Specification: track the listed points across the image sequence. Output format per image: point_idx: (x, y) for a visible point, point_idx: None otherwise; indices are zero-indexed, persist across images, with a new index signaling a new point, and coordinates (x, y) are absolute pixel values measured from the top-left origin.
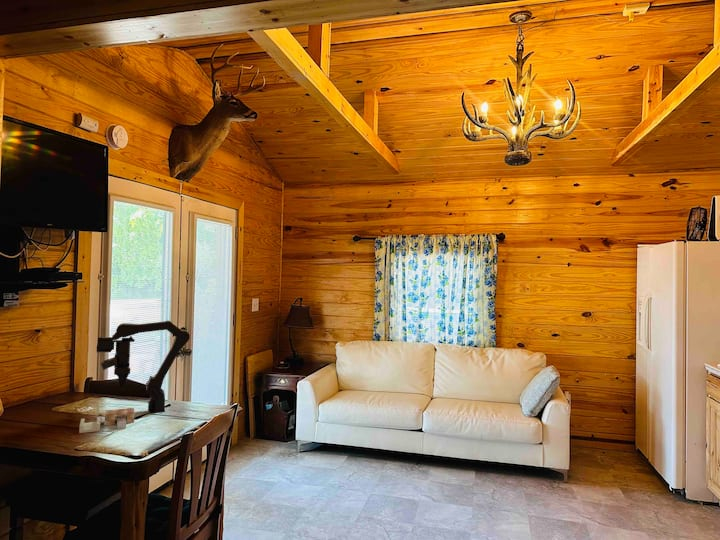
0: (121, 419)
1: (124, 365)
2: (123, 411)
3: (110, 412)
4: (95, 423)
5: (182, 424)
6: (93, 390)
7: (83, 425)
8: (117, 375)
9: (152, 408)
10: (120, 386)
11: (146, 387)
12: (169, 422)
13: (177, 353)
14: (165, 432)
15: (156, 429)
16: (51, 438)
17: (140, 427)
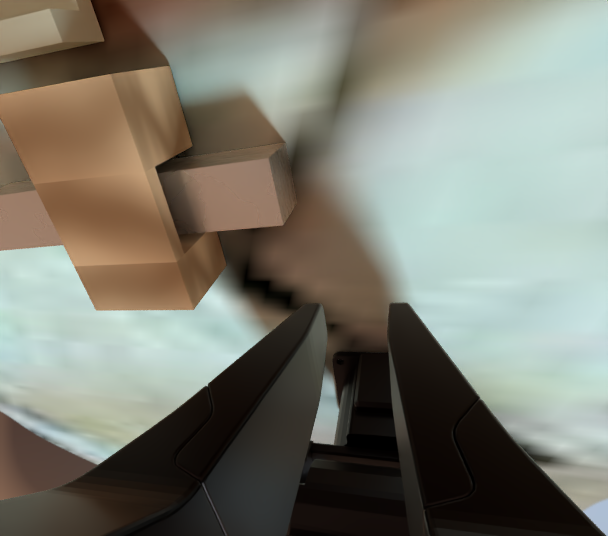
0: (22, 220)
1: None
2: (87, 242)
3: (45, 141)
4: (28, 7)
5: (123, 438)
6: None
7: None
8: (6, 511)
9: (350, 385)
10: (298, 317)
11: (376, 518)
12: (151, 406)
13: None
14: (15, 377)
15: (46, 354)
16: None
17: (66, 296)
